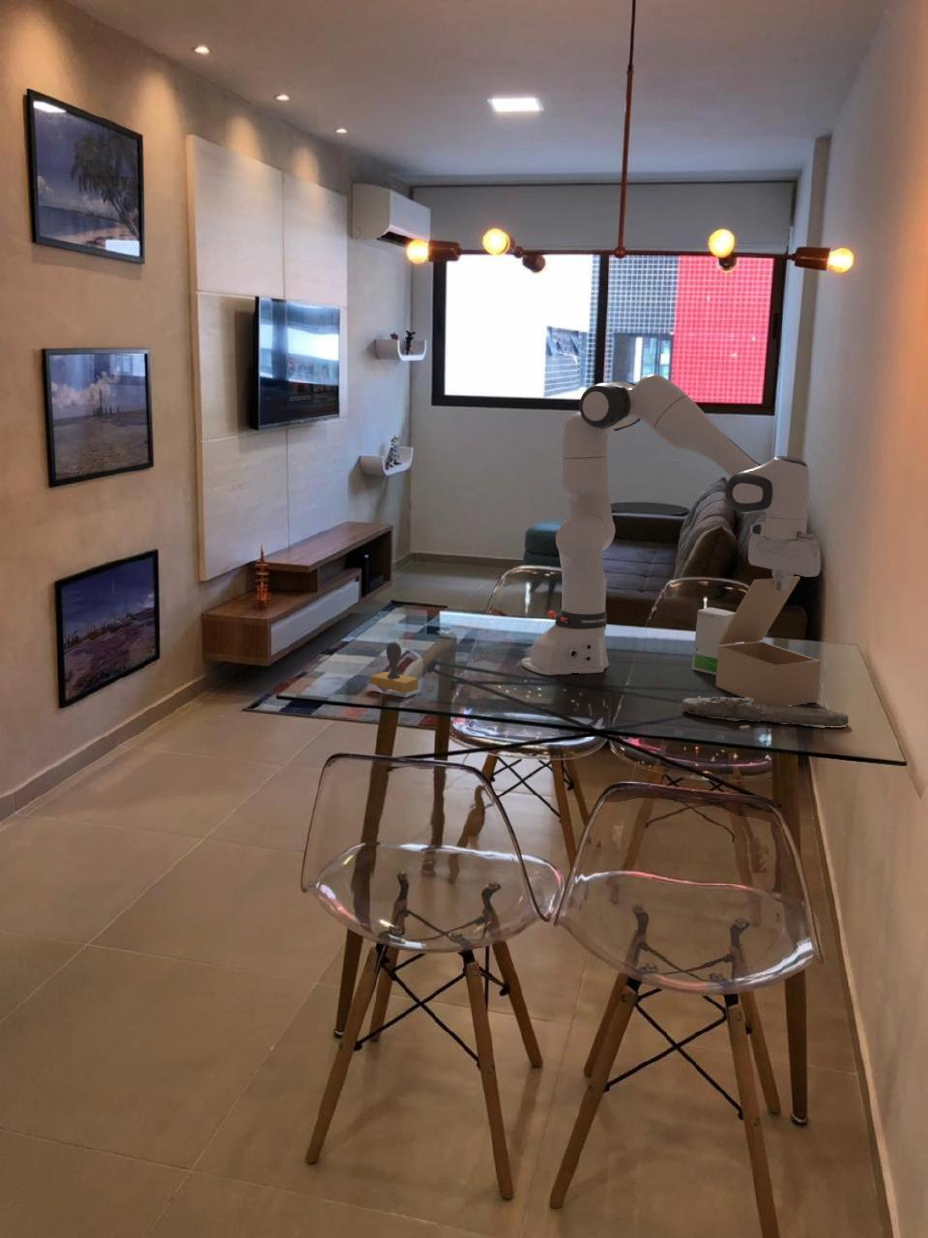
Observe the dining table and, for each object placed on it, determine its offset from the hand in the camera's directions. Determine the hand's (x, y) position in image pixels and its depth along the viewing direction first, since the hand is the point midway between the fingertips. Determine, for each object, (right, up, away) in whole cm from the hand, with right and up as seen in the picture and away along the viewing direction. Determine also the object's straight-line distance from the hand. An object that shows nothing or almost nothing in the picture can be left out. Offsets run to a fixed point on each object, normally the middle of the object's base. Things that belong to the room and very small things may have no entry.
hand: (781, 590), depth 243 cm
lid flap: (-3, -5, +8) cm, 10 cm away
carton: (-1, -24, +8) cm, 26 cm away
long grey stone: (-7, -29, -10) cm, 31 cm away
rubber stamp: (-88, -24, +5) cm, 92 cm away
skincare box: (-9, -20, +28) cm, 36 cm away
